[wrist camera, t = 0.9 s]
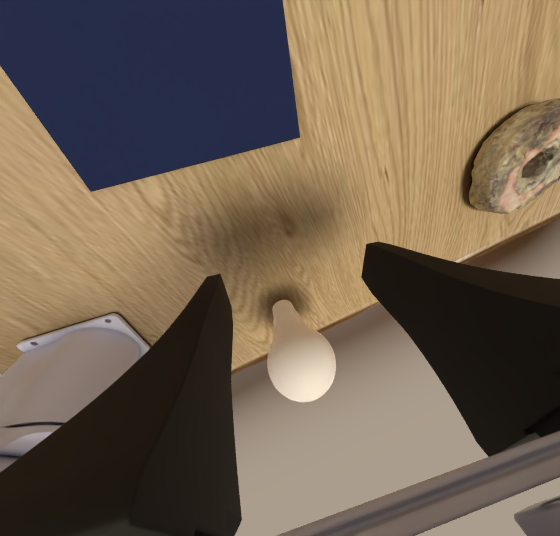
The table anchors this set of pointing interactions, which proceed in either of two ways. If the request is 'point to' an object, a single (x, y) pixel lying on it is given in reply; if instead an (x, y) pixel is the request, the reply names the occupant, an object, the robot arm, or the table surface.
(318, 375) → the lightbulb
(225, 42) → the cloth
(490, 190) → the stone ring
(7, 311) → the table surface
